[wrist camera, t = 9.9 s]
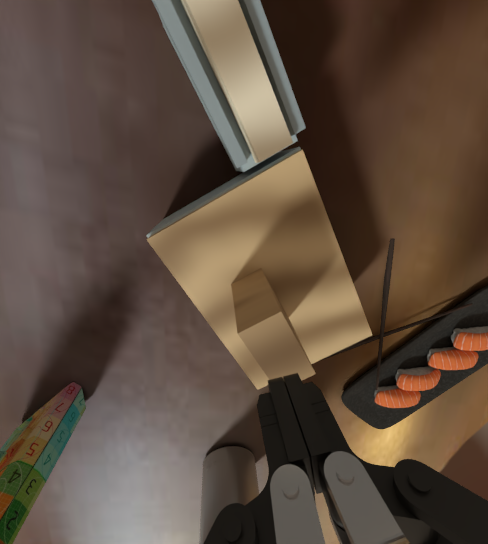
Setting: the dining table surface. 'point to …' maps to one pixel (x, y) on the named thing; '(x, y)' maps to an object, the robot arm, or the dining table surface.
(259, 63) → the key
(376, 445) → the dining table surface
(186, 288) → the lid
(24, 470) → the puzzle game
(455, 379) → the sushi plate
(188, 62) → the toolbox
